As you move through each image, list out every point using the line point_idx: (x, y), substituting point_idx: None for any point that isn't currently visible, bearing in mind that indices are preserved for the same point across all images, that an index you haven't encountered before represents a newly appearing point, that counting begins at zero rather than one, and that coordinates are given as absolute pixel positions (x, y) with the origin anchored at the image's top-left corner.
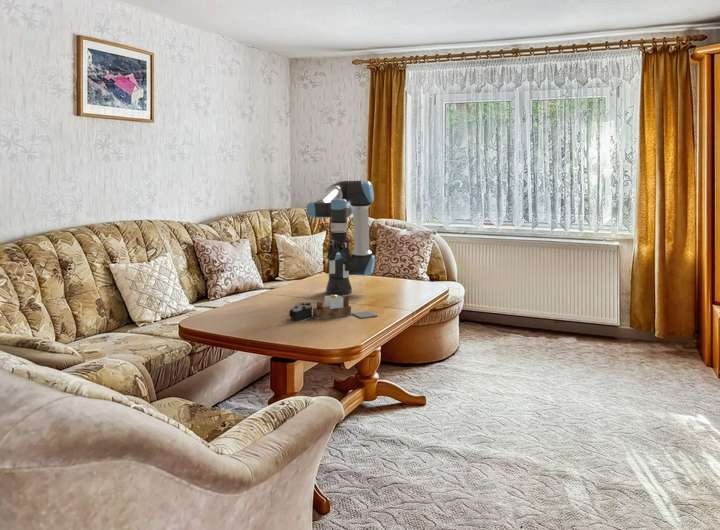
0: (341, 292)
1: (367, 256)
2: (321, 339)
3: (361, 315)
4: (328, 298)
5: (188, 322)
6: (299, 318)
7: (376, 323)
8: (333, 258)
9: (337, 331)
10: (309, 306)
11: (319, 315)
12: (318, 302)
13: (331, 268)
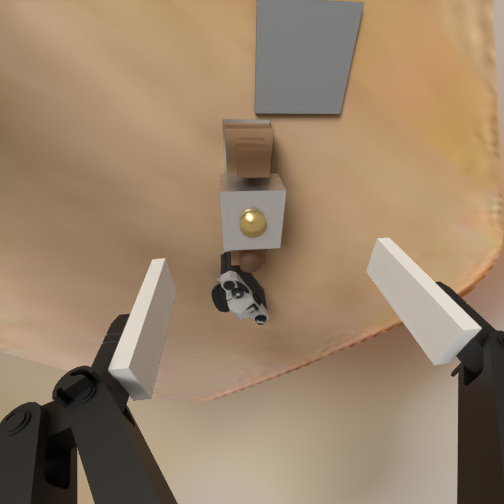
0: None
1: None
2: None
3: (315, 91)
4: (265, 247)
5: (181, 399)
6: (261, 290)
7: (434, 89)
8: (111, 404)
9: (395, 241)
10: (242, 282)
11: None
12: (251, 268)
13: (166, 316)
